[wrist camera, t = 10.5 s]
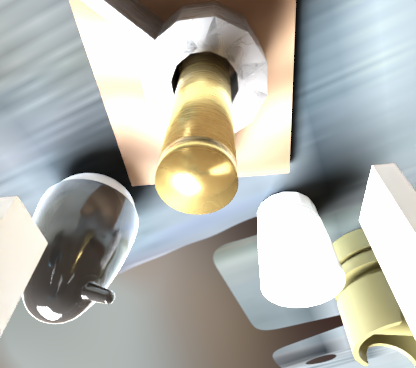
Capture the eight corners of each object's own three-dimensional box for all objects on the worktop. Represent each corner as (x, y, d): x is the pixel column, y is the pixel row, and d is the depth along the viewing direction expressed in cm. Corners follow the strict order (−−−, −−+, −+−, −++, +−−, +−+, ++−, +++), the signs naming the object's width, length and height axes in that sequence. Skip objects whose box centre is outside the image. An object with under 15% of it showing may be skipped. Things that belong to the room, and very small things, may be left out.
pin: (180, 41, 26) (145, 152, 13) (226, 36, 25) (235, 144, 13) (188, 85, 28) (163, 217, 15) (230, 81, 28) (240, 211, 15)
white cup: (333, 202, 38) (364, 274, 30) (292, 242, 42) (310, 315, 34) (276, 176, 36) (293, 247, 28) (239, 222, 40) (245, 294, 32)
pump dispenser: (158, 218, 40) (134, 343, 28) (80, 231, 42) (26, 354, 30) (126, 149, 34) (77, 271, 22) (36, 167, 36) (-54, 290, 24)
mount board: (63, -41, 24) (55, -39, 23) (294, -76, 22) (298, -76, 21) (134, 177, 36) (131, 186, 35) (287, 164, 35) (289, 172, 34)
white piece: (84, -36, 23) (57, -27, 19) (257, -61, 22) (266, -58, 18) (145, 171, 34) (136, 204, 30) (262, 161, 33) (268, 194, 29)
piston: (437, 372, 38) (339, 368, 38) (393, 282, 47) (315, 279, 47) (495, 320, 31) (375, 315, 31) (430, 227, 40) (338, 223, 40)
